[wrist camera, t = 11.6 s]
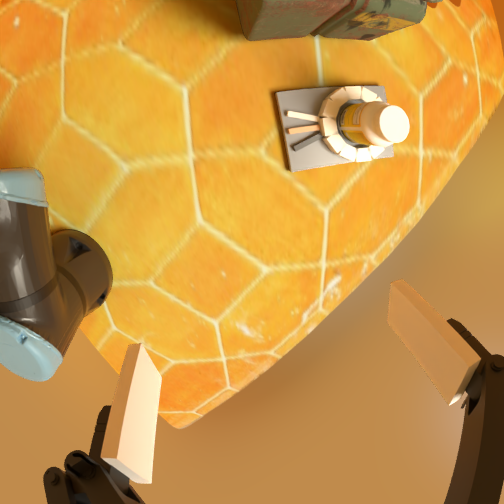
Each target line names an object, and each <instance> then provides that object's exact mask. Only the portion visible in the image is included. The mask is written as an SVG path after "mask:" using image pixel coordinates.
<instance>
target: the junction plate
mask: <svg viewBox="0 0 504 504" xmlns="http://www.w3.org/2000/svg"><path fill="white" fill-rule="evenodd" d="M275 96H276V101H277V106H278V111H279V116H280V121H281V126H282V131H283V136H284V142H285V147H286V153H287V158H288V164H289V170H290V172H296V171H301V170H307V169H312V168H318V167H324V166H330V165H336V164H343V163H349V162H362V161H369V160H371V159H378V158H386V157H394V153H393V144H391V145H389V146H384V147H381V146H373V145H365V144H358V143H353V142H350V141H348V140H347V139H345V138H344V137H343V135H342V134H341V132H340V130H339V127H338V117H339V114H340V112H341V111H342V109H343V108H345V107H346V106H348V105H351V104H358V103H364V102H372V101H383V102H386V103H387V99H386V93H385V88H384V86H341V87H323V88H311V89H300V90H291V91H283V92H276V93H275Z"/></svg>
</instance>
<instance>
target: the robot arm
mask: <svg viewBox="0 0 504 504" xmlns="http://www.w3.org/2000/svg"><path fill="white" fill-rule="evenodd" d="M48 207H49V204H48V202H47V201H46V193H45V184H44V178H43V175H42V174H41V172H40V171H39V170H37V169H35V168H30V167H24V168H6V169H0V363H1V364H2V365H3V366H5V367H6V368H7V369H9V370H10V371H12V372H13V373H15V374H17V375H19V376H21V377H23V378H25V379H28V380H32V381H45V380H48V379H50V378H51V377H52V376H53V375H54V373H55V371H56V369H57V368H58V366H59V365H60V364H61V363H62V361H63V357H64V355H65V353H66V351H67V349H68V347H69V345H70V343H71V341H72V339H73V337H74V335H75V333H76V331H77V329H78V327H79V325H80V323H81V322H82V320H83V318H84V317H85V316H87V315H88V314H90V313H91V312H93V311H94V310H96V309H97V308H99V307H100V306H101V305H102V304H103V303H104V301H105V300H106V298H107V296H108V294H109V292H110V290H111V287H112V282H113V275H112V269H111V265H110V262H109V260H108V258H107V256H106V254H105V252H104V251H103V249H102V248H101V247H100V246H99V245H98V243H97V242H95V241H94V240H93V239H92V238H91V237H89V236H88V235H86V234H84V233H82V232H79V231H75V230H61V231H58V232H56V233H54V234H53V235H52V236H51V232H50V225H49V216H48ZM387 323H388V324H389V325H390V326H391V328H392V329H393V330H394V332H395V333H396V334H397V335H398V337H399V338H400V339H401V341H402V342H403V343H404V345H405V346H406V347H407V349H408V350H409V351H410V352H411V354H412V355H413V357H414V358H415V359H416V360H417V362H418V363H419V365H420V366H421V367H422V369H423V370H424V371H425V373H426V374H427V376H428V377H429V378H430V380H431V381H432V383H433V384H434V385H435V387H436V388H437V390H438V391H439V392H440V394H441V395H442V397H443V398H444V400H445V401H446V403H447V404H448V405H451V404H452V403H454V402H456V401H457V400H459V399H460V398H461V397H462V395H463V393H464V391H466V392H467V393H468V396H467V397H466V399H465V401H464V402H463V404H462V407H461V408H464V406H465V404H466V408H465V416H464V424H463V429H462V435H461V441H460V446H459V451H458V456H457V460H456V464H455V468H454V472H453V476H452V479H451V483H450V487H449V490H448V493H447V496H446V499H445V502H444V504H498V503H499V499H500V495H501V490H502V486H503V481H504V357H503V356H501V355H498V354H496V355H491V354H490V353H489V352H488V351H487V350H486V349H485V348H484V347H483V346H482V344H481V343H480V342H479V341H478V340H477V339H476V338H475V337H474V336H472V334H471V333H470V332H469V331H467V329H466V328H465V327H464V326H463V325H462V324H461V323H460V322H458V321H456V320H454V319H452V318H451V319H449V320H447V321H446V320H445V319H444V318H443V317H442V316H441V315H440V314H439V313H438V312H437V311H436V310H435V309H434V308H433V307H432V306H431V305H430V304H428V303H427V301H426V300H425V299H424V298H422V297H421V296H420V295H419V294H418V293H417V292H416V291H415V290H414V289H413V288H412V287H411V286H410V285H409V284H408V283H407V282H406V281H404V280H403V279H400V280H397V281H394V282H391V287H390V299H389V309H388V319H387ZM161 381H162V377H161V376H160V374H159V372H158V371H157V369H156V367H155V366H154V364H153V362H152V361H151V359H150V357H149V356H148V354H147V352H146V350H145V349H144V347H143V345H142V343H139V344H132V345H128V349H127V352H126V355H125V359H124V362H123V365H122V369H121V372H120V376H119V380H118V383H117V387H116V391H115V394H114V398H113V402H112V405H111V406H104V407H103V408H102V410H101V412H100V413H99V415H98V419H97V425H96V427H95V433H94V435H93V439H92V444H91V449H90V452H89V456H88V455H87V454H86V453H85V452H83V451H80V450H76V451H73V452H71V453H69V454H68V455H67V457H66V459H65V462H64V467H65V470H66V472H64V471H62V470H61V469H59V468H57V467H51V468H49V469H47V471H46V472H45V474H44V478H43V479H44V480H43V481H44V487H45V493H46V498H47V502H48V504H145V503H144V501H143V500H142V499H141V498H140V497H139V495H138V494H137V493H136V491H135V490H134V489H133V487H132V486H131V485H129V479H131V480H133V481H134V482H136V483H149V484H151V483H152V468H153V454H154V442H155V432H156V421H157V413H158V404H159V396H160V388H161Z"/></svg>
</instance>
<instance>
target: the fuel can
mask: <svg viewBox="0 0 504 504" xmlns="http://www.w3.org/2000/svg"><path fill="white" fill-rule="evenodd" d="M440 1H442V0H236V4H237V9H238V13H239V18H240V22H241V26H242V30H243V33H244V36H245V38H246V39H247V40H249V41H255V40H266V39H281V38H300V37H304V36H306V35H308V34H309V33H310V34H311V35H312V36H314V37H315V36H316V35H317V34H320V35H321V36H323V37H327V38H342V39H356V40H367V41H369V40H373V39H375V38H378V37H380V36H383V35H385V34H388V33H391V32H394V31H396V30H399V29H402V28H405V27H408V26H411V25H414V24H417V23H420V22H421V21H422V20H423V18H424V16H425V14H426V8H427V2H433V3H435V2H440Z"/></svg>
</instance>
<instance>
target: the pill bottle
mask: <svg viewBox="0 0 504 504" xmlns="http://www.w3.org/2000/svg"><path fill="white" fill-rule="evenodd" d="M338 127H339V130H340V132H341V134H342V135H343V137H344V138H345V139H347V140H348V141H350V142H353V143H358V144H365V145H373V146H381V147H384V146H389V145H391V144H393V143H398V142H401V141H403V140H404V139H405V138H406V137H407V135H408V133H409V120H408V117H407V115H406V114H405V112H404V111H403V110H402V109H401V108H399V107H397V106H394V105H390V104H388V103H386V102H383V101H372V102H364V103H358V104H351V105H348V106H346V107H345V108H343V109H342V111H341V112H340V114H339V117H338Z"/></svg>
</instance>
